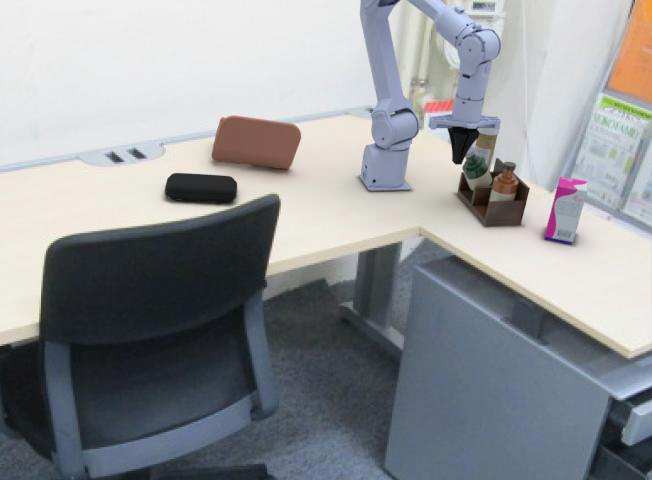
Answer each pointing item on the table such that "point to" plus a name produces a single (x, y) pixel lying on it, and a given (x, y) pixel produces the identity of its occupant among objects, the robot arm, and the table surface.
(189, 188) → the carrying case
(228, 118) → the brown block
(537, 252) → the table surface
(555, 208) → the supplement box
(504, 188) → the amber bottle
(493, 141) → the sprinkles bottle
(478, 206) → the rack
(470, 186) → the dark green bottle
